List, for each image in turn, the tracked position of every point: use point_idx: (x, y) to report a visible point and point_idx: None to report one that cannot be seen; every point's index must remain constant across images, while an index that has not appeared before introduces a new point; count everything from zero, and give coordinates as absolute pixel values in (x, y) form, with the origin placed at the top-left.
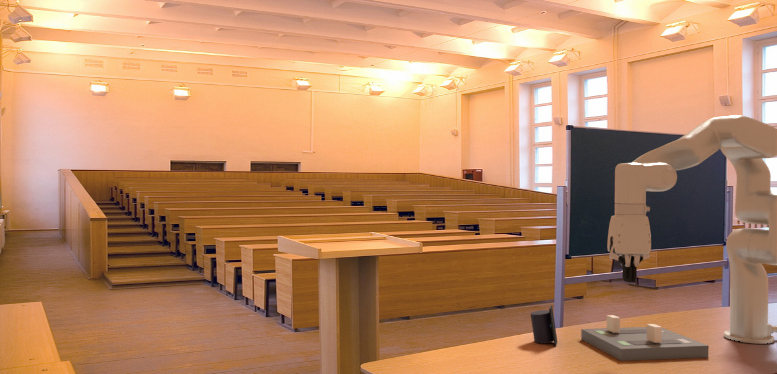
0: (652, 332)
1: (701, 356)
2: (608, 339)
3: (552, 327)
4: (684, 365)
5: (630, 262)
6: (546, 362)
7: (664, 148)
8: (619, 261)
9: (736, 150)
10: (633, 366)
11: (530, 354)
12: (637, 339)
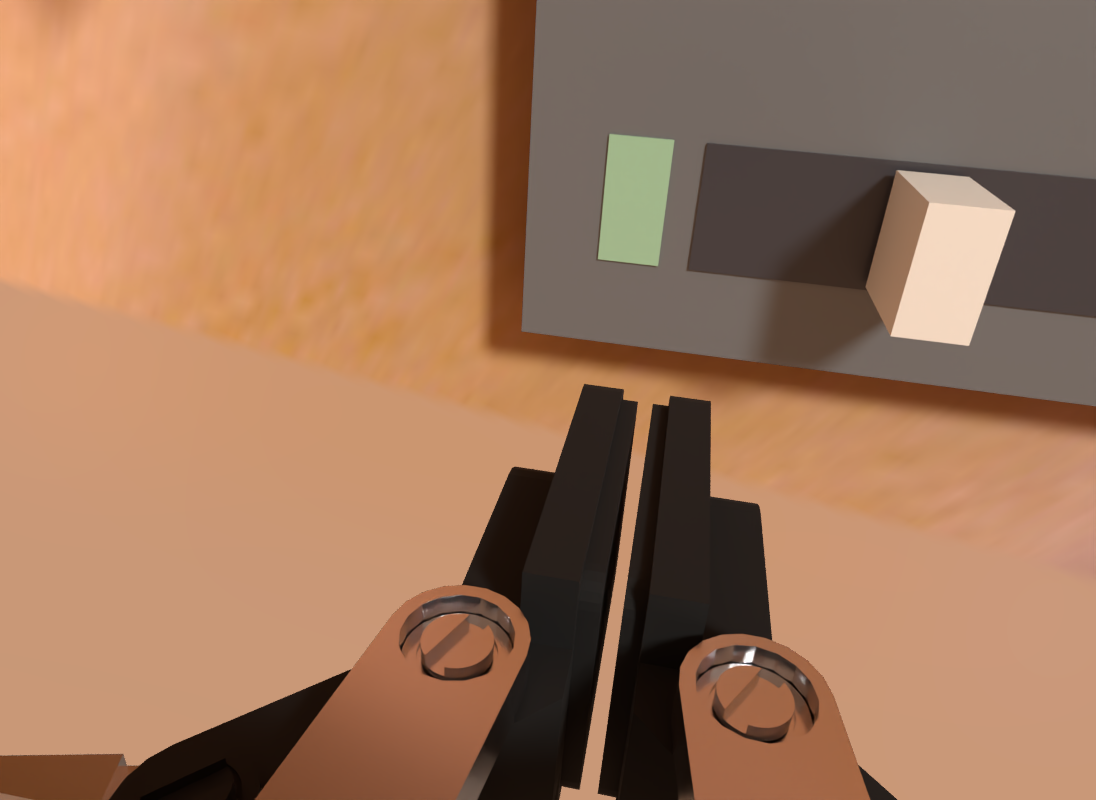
0: (889, 281)
1: None
2: (589, 42)
3: None
4: (859, 476)
5: (671, 762)
6: (91, 213)
7: None
8: (272, 742)
9: None
10: (546, 410)
11: (18, 6)
12: (850, 101)
